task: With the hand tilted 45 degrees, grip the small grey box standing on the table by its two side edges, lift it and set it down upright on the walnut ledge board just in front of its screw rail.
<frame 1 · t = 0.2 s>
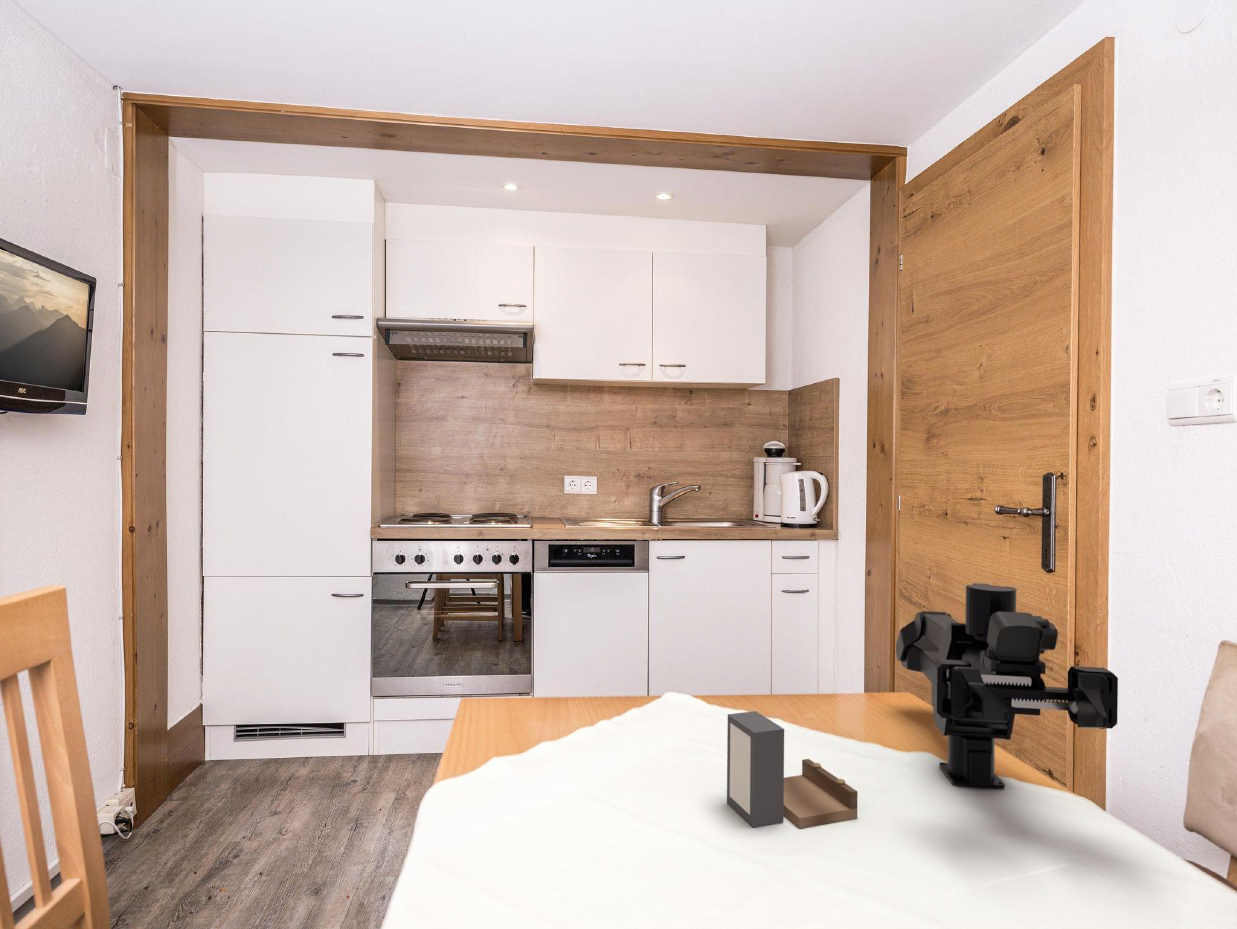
hand: (1055, 719, 71), 16 cm above the table, tool horizontal, fingers open, 9 cm apart
grey box: (754, 812, 85), on the table
ledge: (804, 804, 87), on the table
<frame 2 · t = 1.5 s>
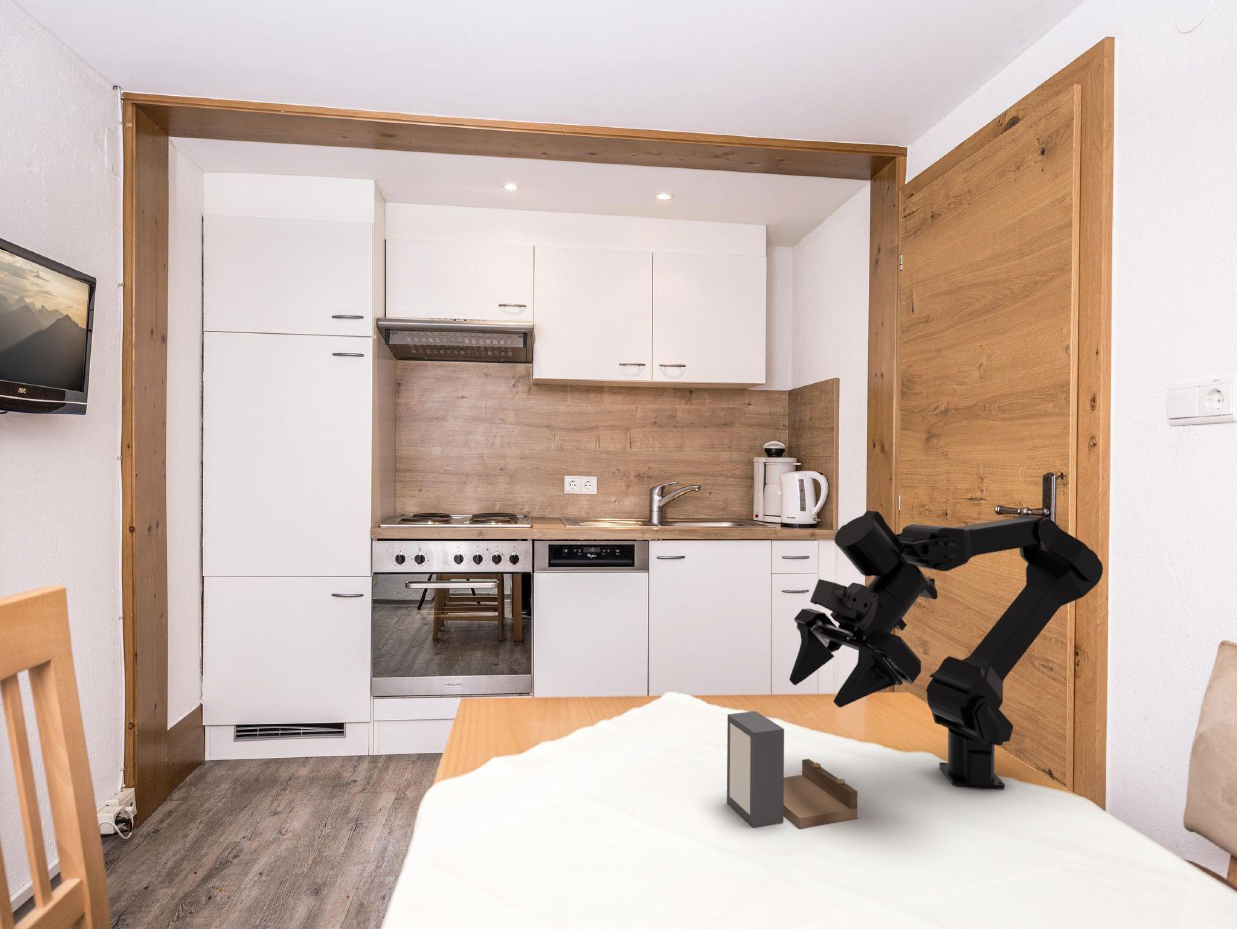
hand: (813, 693, 88), 14 cm above the table, tool tilted 45°, fingers open, 9 cm apart
nothing on the table moved.
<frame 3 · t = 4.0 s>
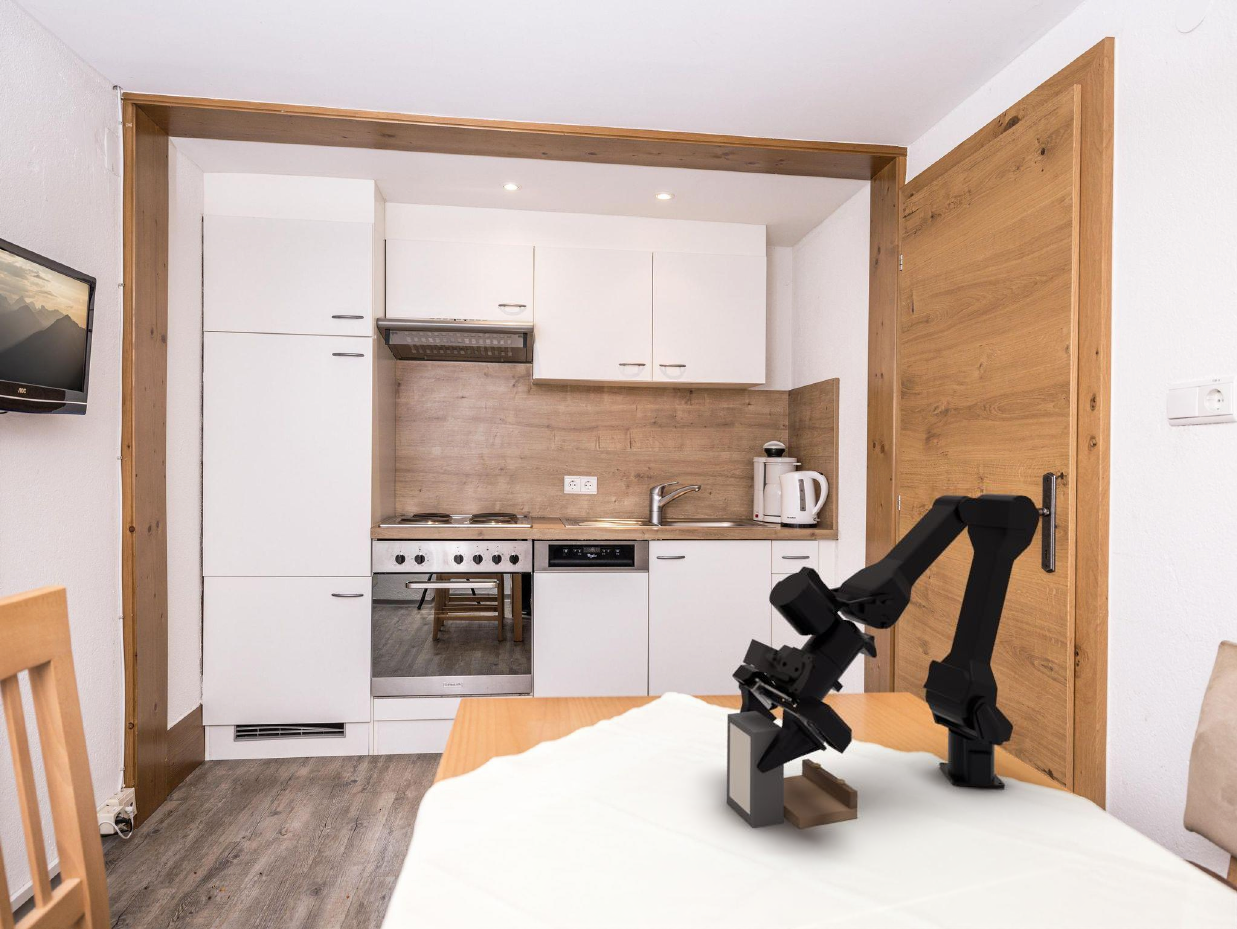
hand: (744, 758, 85), 7 cm above the table, tool tilted 45°, fingers closed on grey box, 6 cm apart
grey box: (754, 812, 85), on the table, touching gripper
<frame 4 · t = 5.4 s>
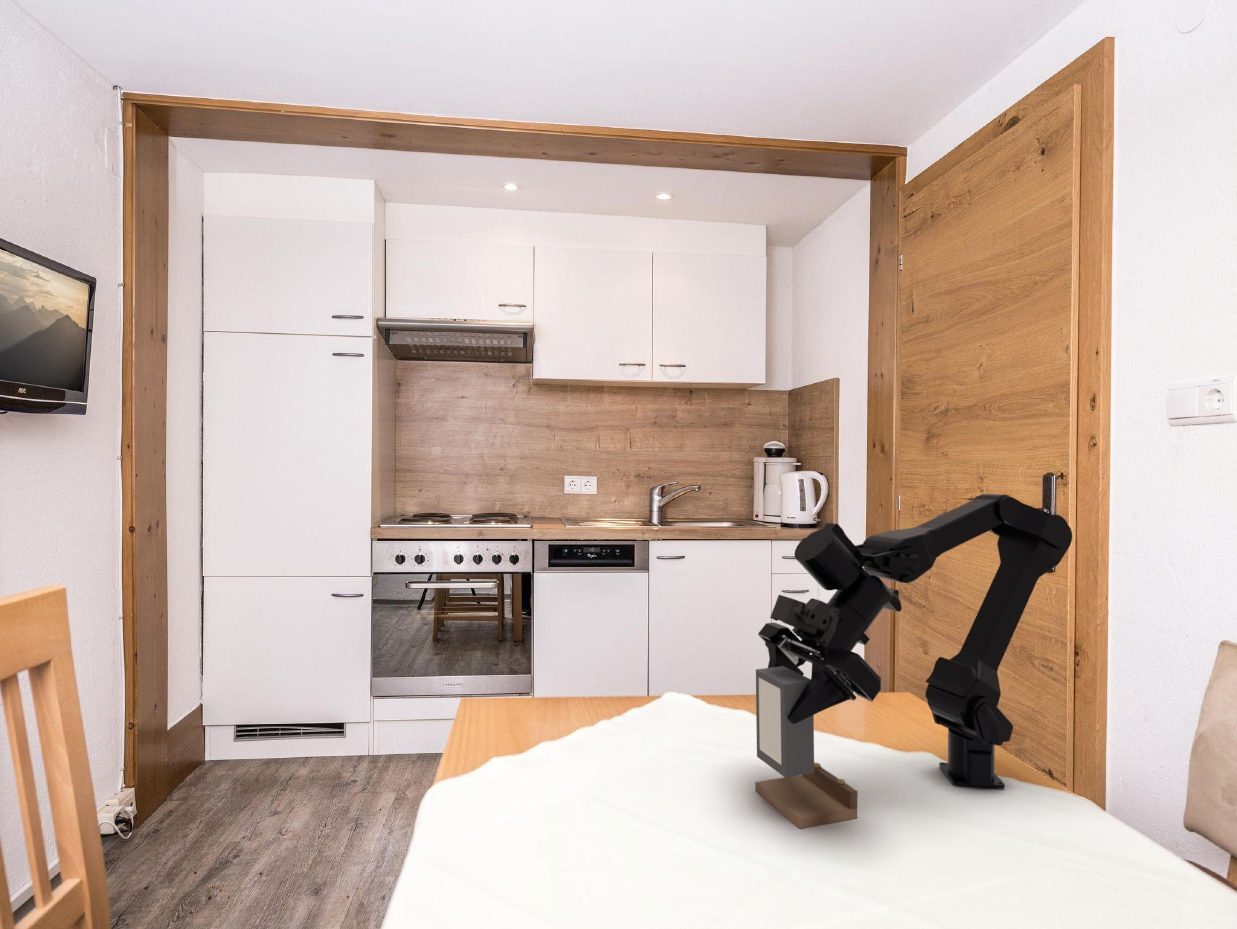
hand: (774, 711, 86), 12 cm above the table, tool tilted 45°, fingers closed on grey box, 6 cm apart
grey box: (784, 764, 87), point 5 cm above the table, touching gripper
when the fingers open (8 cm above the table, at t = 7.1 s): grey box stays where it is, resting on ledge.
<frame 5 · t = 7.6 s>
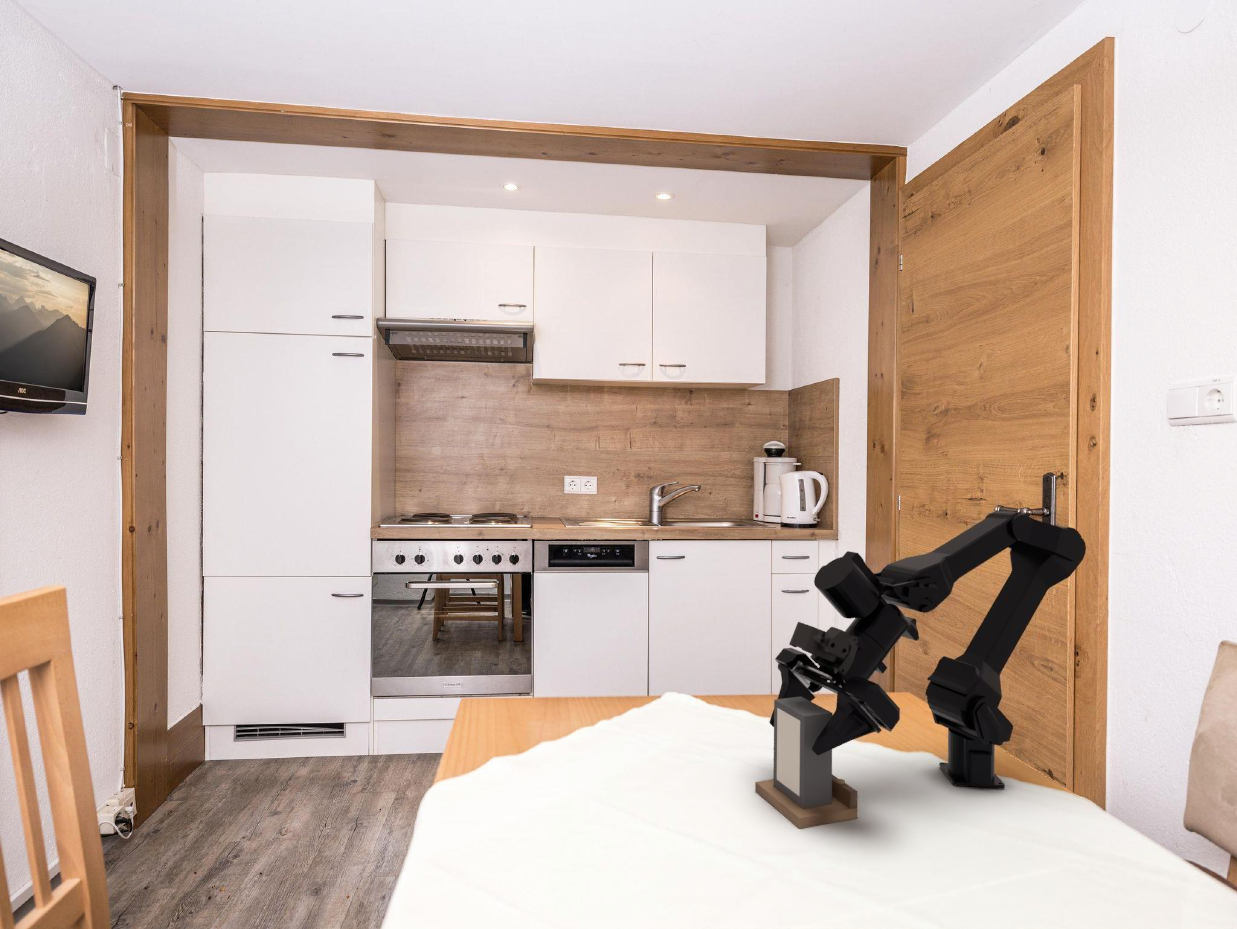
hand: (792, 738, 87), 8 cm above the table, tool tilted 45°, fingers open, 9 cm apart
grey box: (801, 795, 87), point 1 cm above the table, touching ledge
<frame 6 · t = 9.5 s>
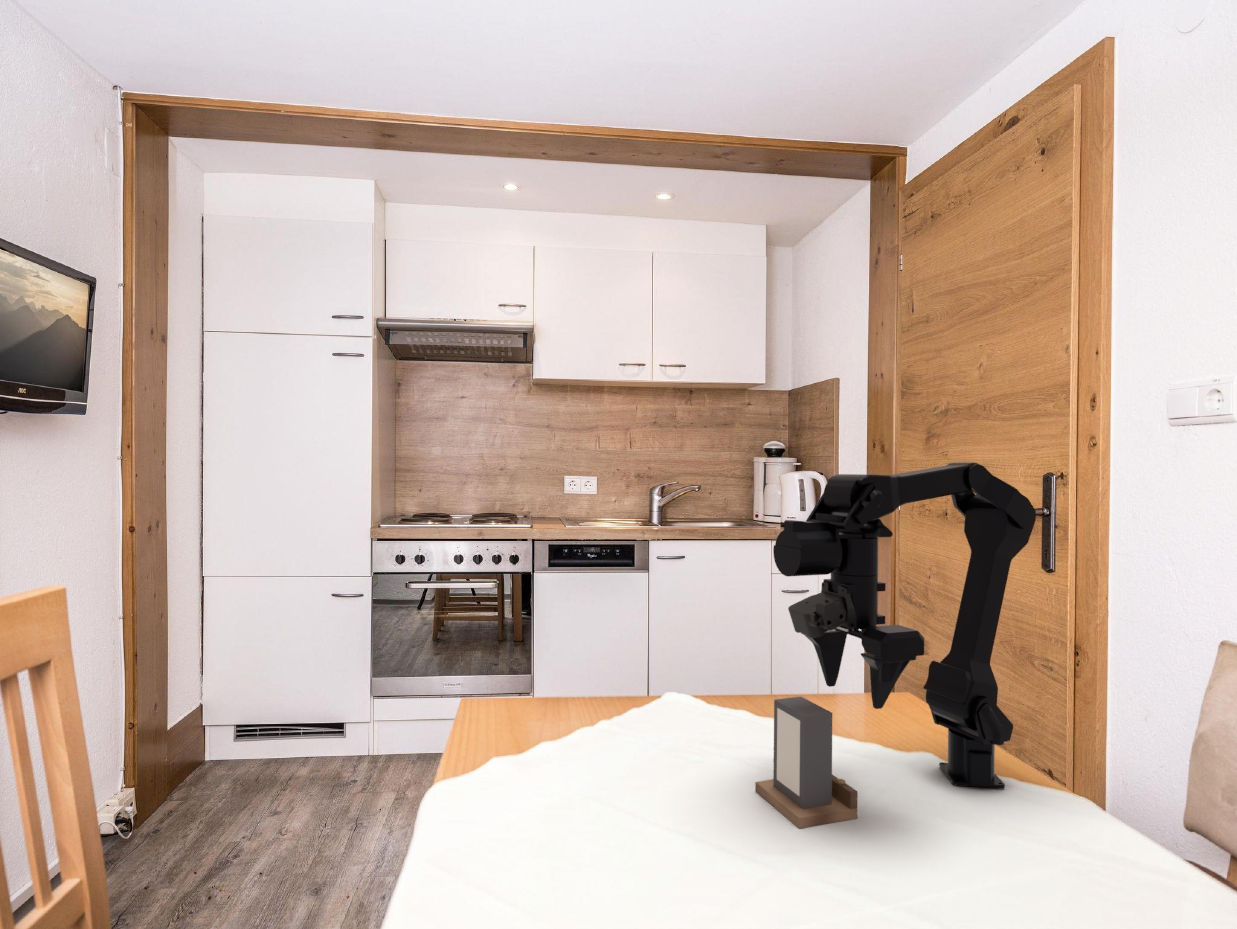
hand: (853, 696, 89), 13 cm above the table, tool pointing down, fingers open, 9 cm apart
nothing on the table moved.
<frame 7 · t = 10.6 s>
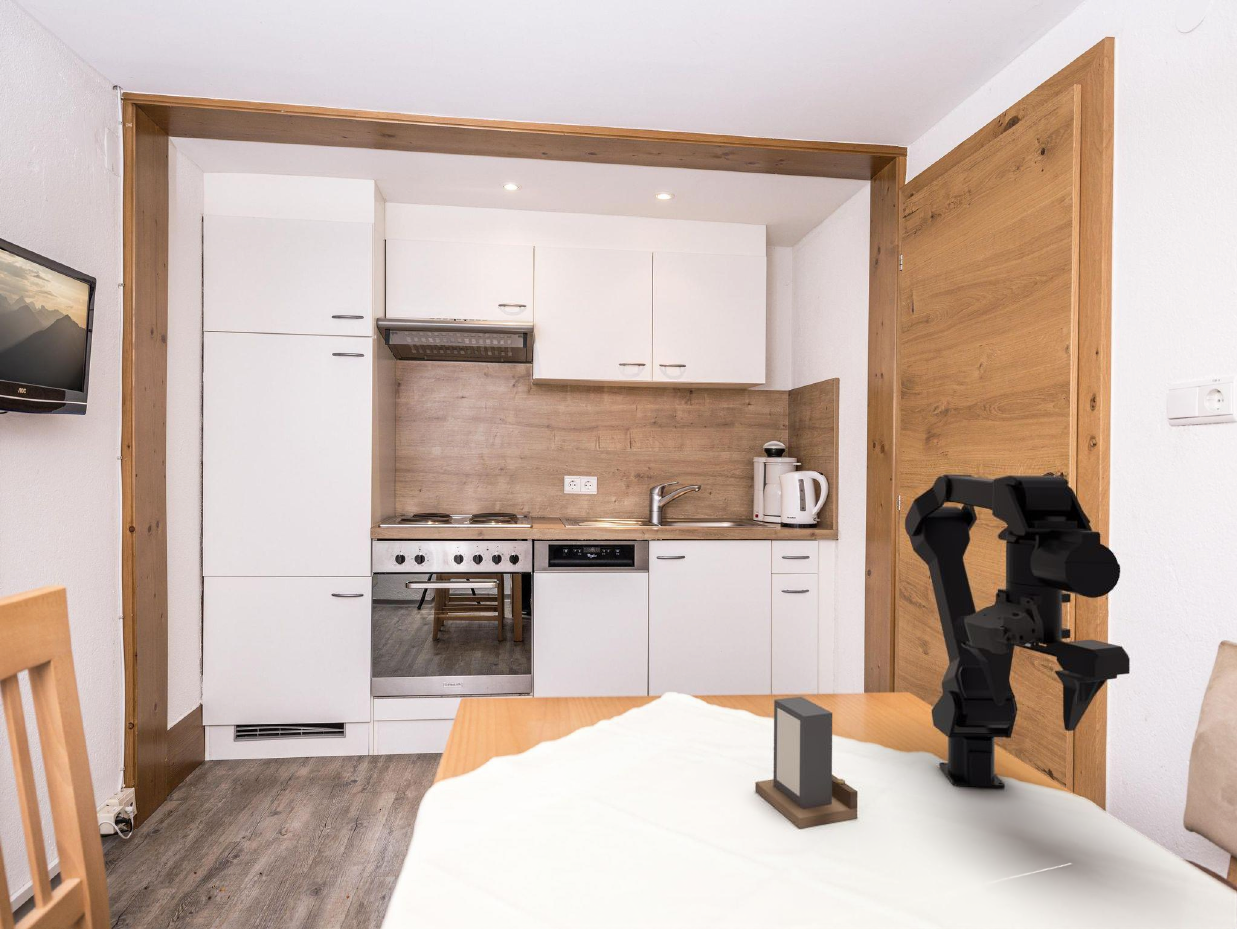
hand: (1032, 716, 82), 13 cm above the table, tool pointing down, fingers open, 9 cm apart
nothing on the table moved.
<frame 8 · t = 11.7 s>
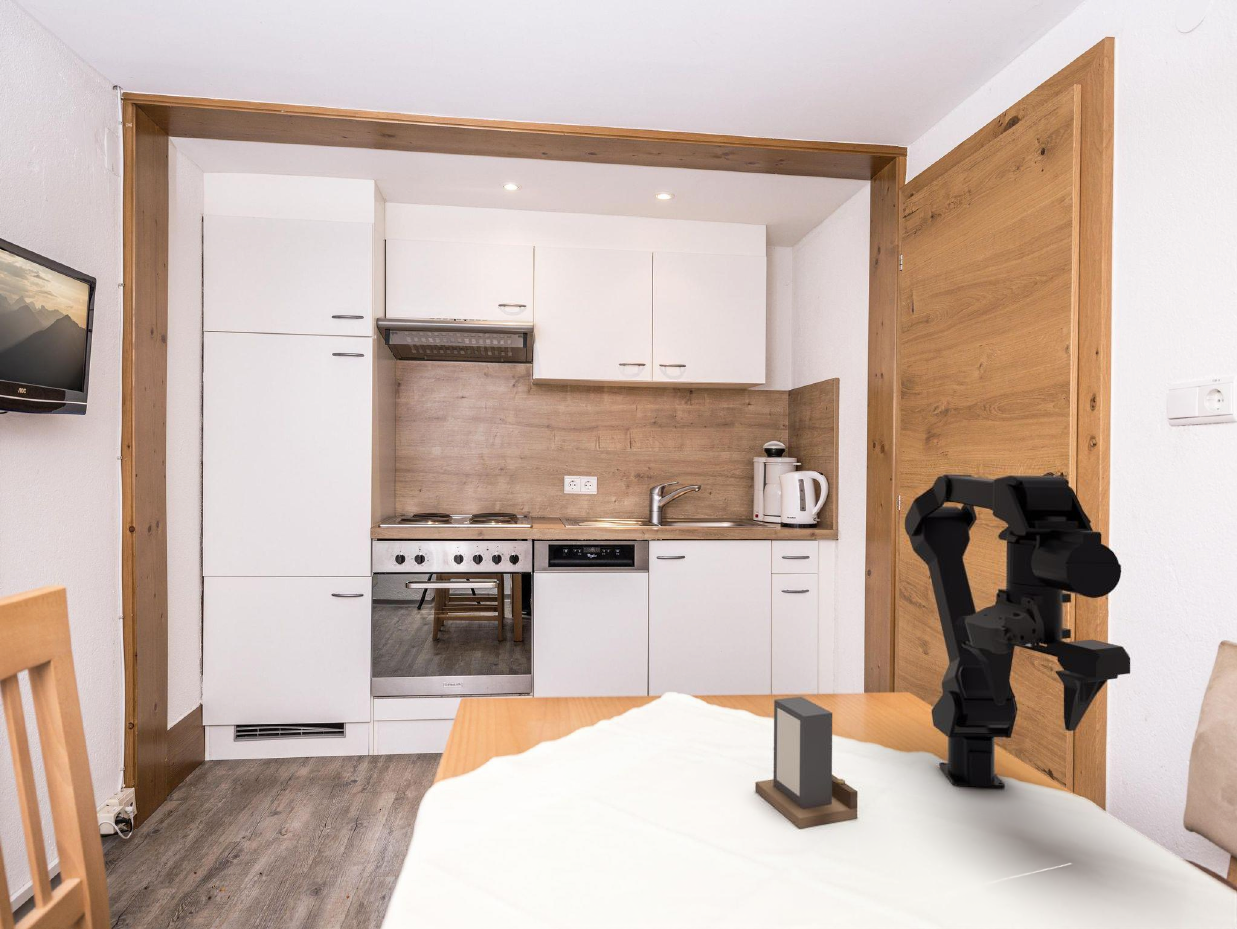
hand: (1033, 716, 82), 13 cm above the table, tool pointing down, fingers open, 9 cm apart
nothing on the table moved.
at the end: grey box inside the target area on the ledge (0.4 cm from its centre), point 1.2 cm above the ledge's base; grey box tilted 0°; grey box touching ledge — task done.
